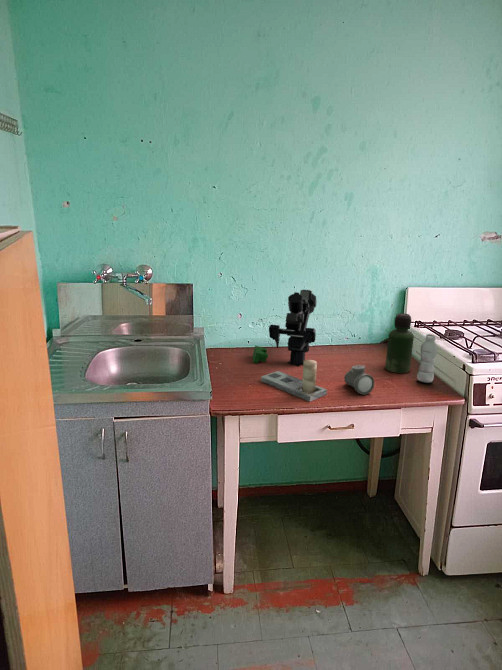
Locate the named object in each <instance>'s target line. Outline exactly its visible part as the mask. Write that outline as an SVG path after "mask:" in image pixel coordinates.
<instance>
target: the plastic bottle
mask: <svg viewBox="0 0 502 670" xmlns="http://www.w3.org/2000/svg"><path fill="white" fill-rule="evenodd" d="M436 337H437V336H436V335H434V334H430V333H429V334H428V333H427V334H425V341H424V342H423V343H421V346H420V364H419V366H418V367H419V368H418V371H417V373H416V376H417V377H416V378H417V380H418V381H419V382H421V383H425V384H429V383H432V382H433V381H434V378H435V371H434V368H435V361H436V357H437V353H438V346H437V344H436V342H435V341H436Z"/></svg>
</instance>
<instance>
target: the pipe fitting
mask: <svg viewBox="0 0 502 670" xmlns="http://www.w3.org/2000/svg"><path fill="white" fill-rule="evenodd" d="M365 371H366V365H363V364H356V365H353V366H351V368H350V369H349V371H347V372H346V373H345V374H344V378H343V379H344V383H345V384H346V385H348V386H350V387H352V388H354V391H356V392H357V393H358V394H359V395H362V396H365V395H368V394H370V393H371V392H372V391H373V389H374V387H375V379H374V377H373V376H372V375H371V374H368V373H366V372H365Z"/></svg>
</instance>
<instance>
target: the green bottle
mask: <svg viewBox="0 0 502 670" xmlns="http://www.w3.org/2000/svg"><path fill="white" fill-rule="evenodd" d="M393 325H394V328H395V329H392V330H391V331H389V333H388V338H387V339H388V340H387V349H386V358H385V366H384V368H385V369H386V370H387V371H388V372H390V373H397V374H406V373H409V372H410V370H411V364H412V363H411V362H412V353H413V347H414V339H415V336H414V334H413V332H412V331H410V329H411V326H412V316H411V315H410V314H409V313H402V312H401V313H398V314H396V316H395V317H394V324H393Z"/></svg>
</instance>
